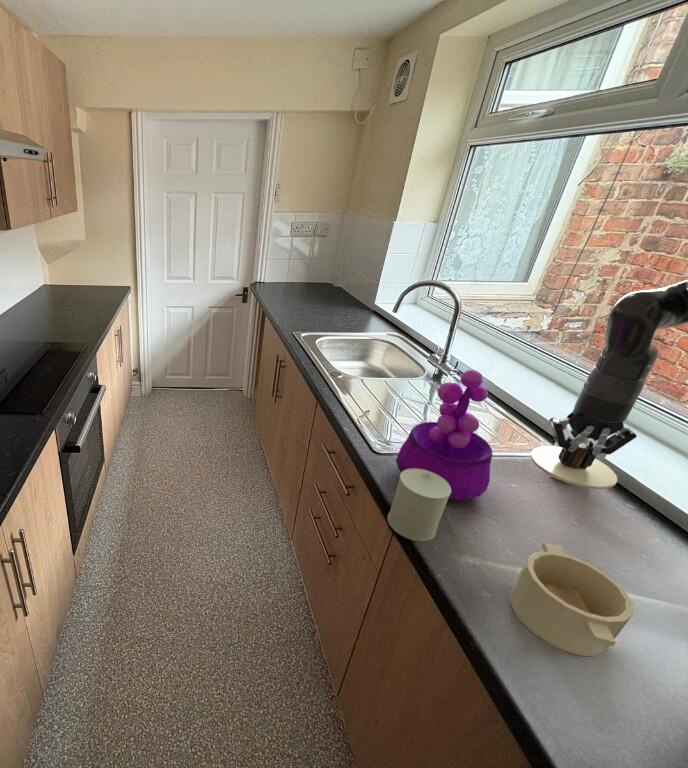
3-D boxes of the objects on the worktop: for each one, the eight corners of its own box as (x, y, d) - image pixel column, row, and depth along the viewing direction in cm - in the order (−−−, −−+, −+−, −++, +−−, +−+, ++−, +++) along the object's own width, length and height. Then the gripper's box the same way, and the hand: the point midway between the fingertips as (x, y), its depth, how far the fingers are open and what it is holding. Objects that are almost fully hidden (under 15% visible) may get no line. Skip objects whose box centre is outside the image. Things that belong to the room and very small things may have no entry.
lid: (594, 457, 92) (607, 433, 89) (630, 498, 80) (645, 472, 77) (520, 445, 96) (529, 423, 93) (543, 483, 85) (555, 458, 82)
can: (437, 520, 89) (454, 476, 84) (433, 548, 83) (450, 503, 77) (391, 503, 94) (403, 460, 89) (383, 529, 87) (396, 485, 82)
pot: (576, 583, 75) (597, 550, 71) (635, 686, 60) (666, 651, 56) (495, 564, 79) (511, 532, 75) (531, 657, 64) (553, 622, 60)
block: (565, 607, 71) (576, 590, 69) (579, 631, 67) (591, 614, 65) (535, 600, 72) (545, 583, 70) (546, 623, 68) (557, 606, 66)
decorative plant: (391, 495, 96) (425, 380, 83) (393, 452, 111) (421, 348, 98) (488, 521, 89) (542, 399, 75) (476, 471, 104) (519, 361, 90)
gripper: (573, 396, 79) (539, 468, 87) (669, 407, 75) (624, 483, 82) (556, 379, 85) (526, 448, 93) (644, 389, 81) (605, 460, 89)
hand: (572, 464), depth 88 cm, fingers closed on lid, 2 cm apart
